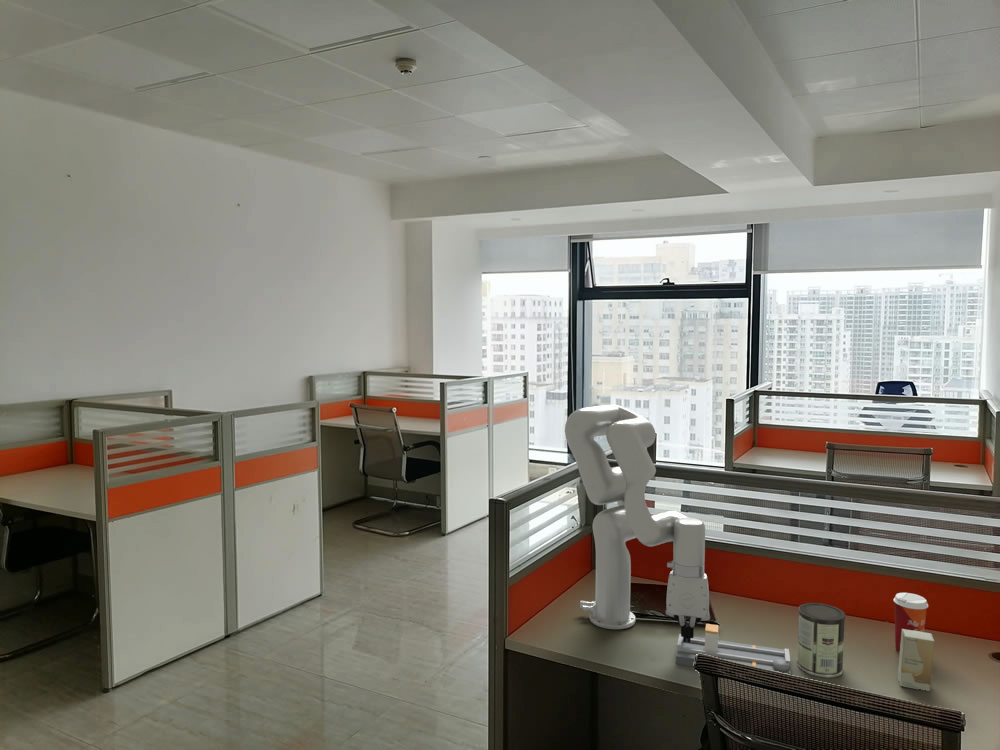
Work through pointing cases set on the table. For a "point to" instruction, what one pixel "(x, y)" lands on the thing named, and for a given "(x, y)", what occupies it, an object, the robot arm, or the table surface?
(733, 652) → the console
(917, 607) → the paper cup
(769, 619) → the table surface
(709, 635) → the fader
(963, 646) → the table surface
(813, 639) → the coffee can
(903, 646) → the skincare box
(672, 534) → the robot arm
